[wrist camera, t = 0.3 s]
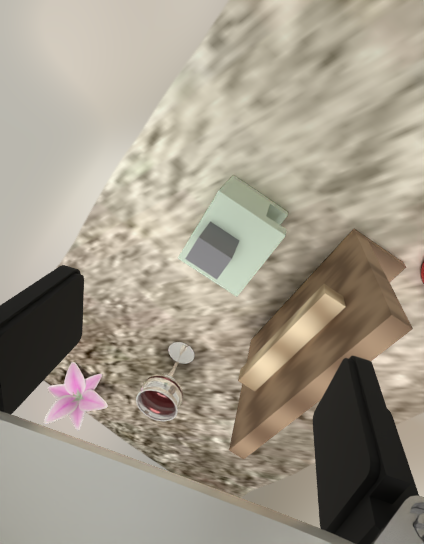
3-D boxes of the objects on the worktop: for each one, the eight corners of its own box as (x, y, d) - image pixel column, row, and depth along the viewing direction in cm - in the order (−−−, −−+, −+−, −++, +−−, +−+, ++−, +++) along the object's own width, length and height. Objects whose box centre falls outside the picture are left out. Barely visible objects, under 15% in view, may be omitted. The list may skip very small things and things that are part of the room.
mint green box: (233, 175, 43) (207, 202, 31) (288, 212, 43) (283, 253, 31) (197, 233, 48) (162, 277, 36) (246, 265, 48) (229, 319, 36)
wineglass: (159, 357, 61) (130, 408, 51) (170, 332, 58) (142, 382, 47) (191, 372, 61) (169, 427, 51) (204, 348, 58) (184, 402, 47)
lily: (128, 390, 69) (104, 406, 60) (92, 427, 71) (63, 448, 61) (92, 349, 72) (64, 358, 62) (58, 385, 73) (25, 399, 64)
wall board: (338, 218, 42) (365, 297, 25) (403, 262, 43) (473, 369, 26) (238, 332, 54) (210, 438, 37) (290, 365, 55) (286, 485, 38)
